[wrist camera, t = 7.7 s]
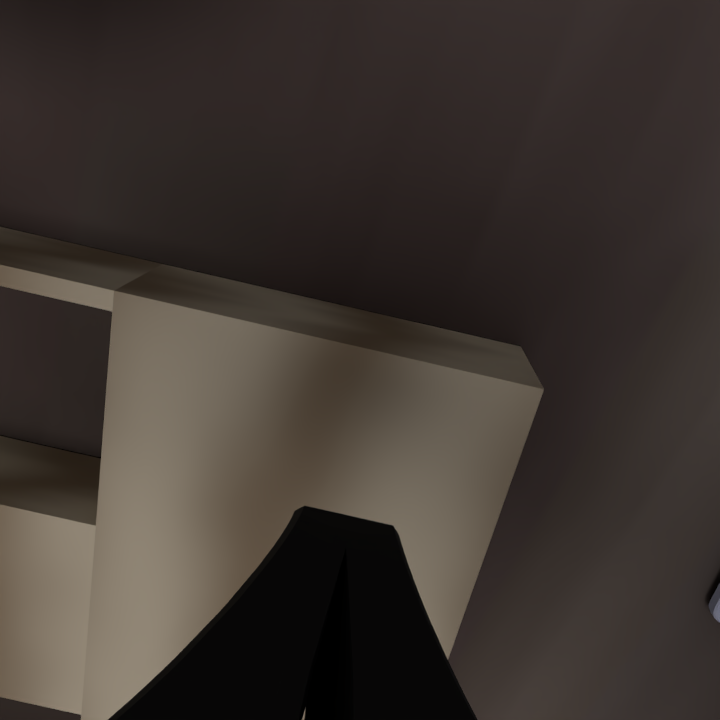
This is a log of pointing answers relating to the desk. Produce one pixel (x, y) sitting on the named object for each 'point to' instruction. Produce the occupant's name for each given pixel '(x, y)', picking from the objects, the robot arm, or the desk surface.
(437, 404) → the trap board
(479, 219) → the desk surface
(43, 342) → the desk surface
